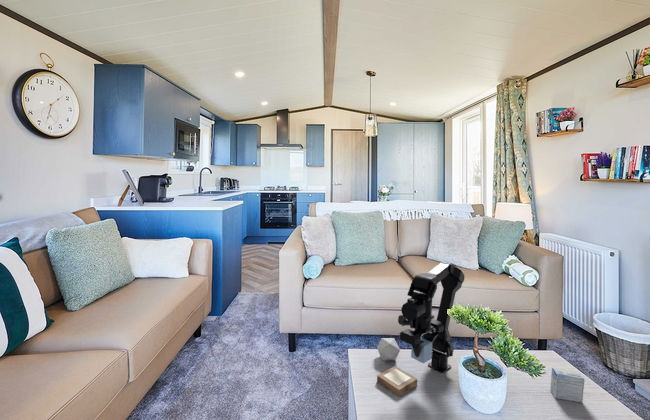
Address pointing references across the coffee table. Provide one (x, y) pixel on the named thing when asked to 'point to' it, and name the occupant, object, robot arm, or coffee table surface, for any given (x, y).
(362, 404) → the coffee table surface
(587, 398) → the coffee table surface
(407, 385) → the picture frame
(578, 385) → the medicine box
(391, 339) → the die
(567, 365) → the coffee table surface
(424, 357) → the block
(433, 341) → the robot arm
